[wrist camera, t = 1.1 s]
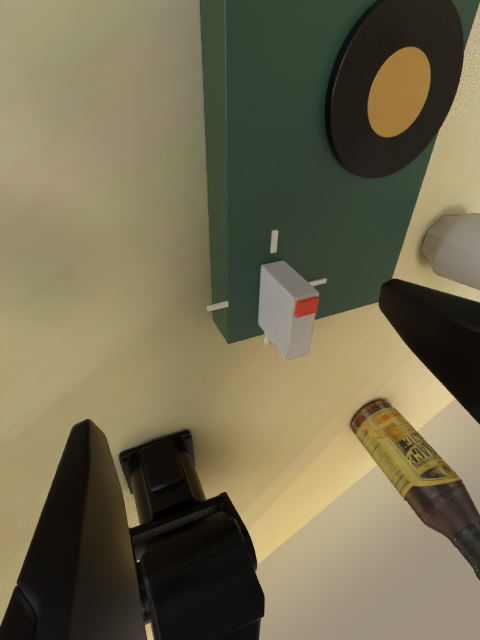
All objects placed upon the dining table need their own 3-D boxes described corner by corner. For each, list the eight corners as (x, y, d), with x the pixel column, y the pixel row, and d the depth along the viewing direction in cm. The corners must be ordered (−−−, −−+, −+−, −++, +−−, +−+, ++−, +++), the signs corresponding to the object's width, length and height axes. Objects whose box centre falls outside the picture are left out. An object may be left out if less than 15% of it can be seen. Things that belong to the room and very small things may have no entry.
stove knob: (277, 318, 25) (310, 356, 22) (257, 323, 25) (288, 363, 22) (283, 259, 22) (322, 294, 19) (260, 264, 22) (296, 300, 19)
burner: (423, 169, 23) (431, 171, 22) (313, 183, 20) (319, 186, 20) (479, -8, 18) (490, -10, 17) (341, -22, 15) (350, -24, 14)
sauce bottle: (394, 396, 48) (547, 549, 33) (370, 428, 50) (501, 582, 36) (363, 397, 44) (519, 568, 30) (338, 432, 47) (470, 604, 32)
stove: (359, 291, 32) (383, 310, 30) (195, 334, 27) (210, 360, 25) (437, -10, 20) (488, -17, 18) (166, -35, 15) (189, -49, 12)
